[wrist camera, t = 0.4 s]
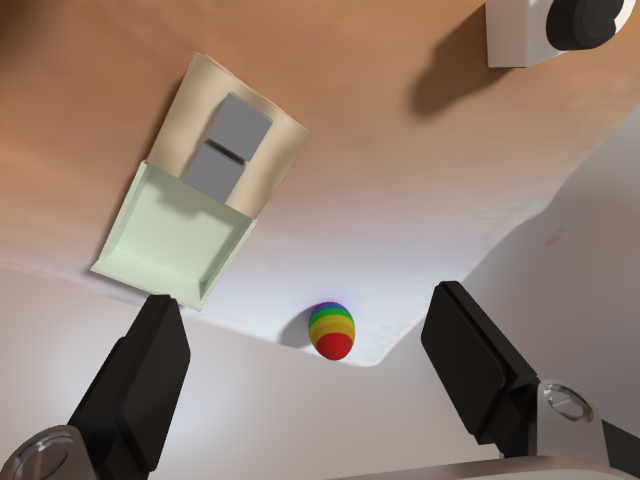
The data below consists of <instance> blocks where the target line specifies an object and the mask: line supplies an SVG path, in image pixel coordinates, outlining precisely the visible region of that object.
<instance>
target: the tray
mask: <svg viewBox="0 0 640 480" xmlns="http://www.w3.org/2000/svg"><path fill="white" fill-rule="evenodd" d="M147 159H148V158H147ZM147 159H145V160H144V161H142V162H141V164H140V167H139V169H138V171H137V173H136V176H135V178H134V180H133V182H132V185H131V187H130V189H129V191H128V194H127V196H126V198H125V200H124V203H123V205H122V207H121V209H120V212H119V214H118V216H117V218H116V221H115V223H114V225H113V227H112V230H111V232H110V234H109V236H108V239H107V241H106V243H105V245H104V248H103V250H102V252H101V254H100V257H99V259H98V261H97V262H96V263H95V264H94V265H93V266H92V267H91V271H94V272H97V273H99V274H102V275H105V276H107V277H110V278H112V279H115V280H118V281H120V282H123V283H126V284H128V285H131V286H133V287H136V288H139V289H141V290H144V291H147V292H149V293H152V294H155V295H160V294H169V295H170V296H171V298H175V299H176V300H177V303H178V304H181V305H183V306H186V307H189V308H191V309H194V310H197V311H199V312H200V311H201V310H202V307H203V304H204V302H205V300H206V299H207V297H208V296H209V294H210V293H211V291H212V290H213V288H214V287H215V285H216V284H217V282H218V281H219V279H220V278H221V276H222V275H223V273H224V272H225V270H226V269H227V267H228V266H229V264H230V263H231V261H232V260H233V258H234V257H235V255H236V254H237V252H238V251H239V249H240V248H241V246H242V245H243V243H244V242H245V240H246V239H247V237H248V236H249V234H250V233H251V231H252V230H253V228H254V227H255V225H256V223H257V218H256V220H254V219H252V218H250V217H248V216H246V215H245V214H243V213H241V212H239V211H237V210H235V209H234V208H232V207H230V206H228V205H226V204H222V203H220V202H218V201H216V200H214V199H213V198H211V197H209V196H207V195H205V194H203V193H201V192H200V191H198V190H196V189H194V188H192V187H190V186H188V185H187V184H185V183H183V181H182V180H180V179H178V178H176V177H175V176H173V175H171V174H169V173H167V172H165V171H163V170H162V169H160V168H158V167H156V166H154V165H152V164H151V163H149V162H147Z"/></svg>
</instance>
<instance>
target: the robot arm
mask: <svg viewBox="0 0 640 480" xmlns="http://www.w3.org/2000/svg"><path fill="white" fill-rule="evenodd" d="M421 342H422V345H423V347H424V349H425V351H426V352H427V355H428V357H429V359H430V360H431V362H432V364H433V366H434V368H435V370H436V372H437V374H438V376H439V378H440V380H441V382H442V384H443V385H444V387H445V389H446V391H447V393H448V395H449V397H450V399H451V401H452V403H453V404H454V407H455V408H456V410H457V412H458V414H459V416H460V418H461V420H462V422H463V424H464V426H465V427H466V429H467V431H468V432H469V433H470V434H471V435H474V437H475V439H476V441H477V443H478V444H479V445H484V444H492V443H495V444H496V446H497V448H498V449H499V451H500V452H499V459H494V460H483V461H473V462H465V463H458V464H448V465H440V466H432V467H423V468H415V469H407V470H399V471H391V472H383V473H375V474H367V475H359V476H351V477H343V478H335V479H327V480H640V438H638V437H636V436H634V435H632V434H630V433H628V432H626V431H624V430H622V429H620V428H618V427H616V426H614V425H612V424H610V423H608V422H606V421H604V420H602V419H601V417H600V414H599V411H598V409H597V408H596V407H595V405H594V404H593V402H592V401H591V400H590V399H589V398H587V397H586V396H585V395H584V394H583V393H582V392H580V391H579V390H577V389H576V388H574V387H573V386H571V385H569V384H567V383H564V382H561V381H557V380H551V379H548V380H543V381H542V382H540V380H539V379H538V378H537V377H536V375H537V373H536V372H535V371H534V370H533V369H532V367H531V366H530V365H529V364H528V363H527V362H526V360H525V359H524V358H523V357H522V356H521V354H520V353H519V352H518V351H517V350H516V349H515V348H514V346H513V345H512V344H511V343H510V342H509V340H508V339H507V338H506V337H505V336H504V334H503V333H502V332H501V331H500V330H499V329H498V327H497V326H496V325H495V324H494V323H493V322H492V320H491V319H490V318H489V317H488V316H487V314H486V313H485V312H484V311H483V310H482V309H481V308H480V306H479V305H478V304H477V303H476V302H475V300H474V299H473V298H472V297H471V296H470V294H469V293H468V292H467V291H466V290H465V289H464V288H463V286H462V285H461V284H460V283H459V282H458V281H442V282H440V283H439V285H437V286H436V287H435V289H434V292H433V296H432V299H431V303H430V306H429V310H428V313H427V317H426V320H425V323H424V327H423V330H422V334H421ZM190 355H191V354H190V349H189V345H188V341H187V337H186V333H185V330H184V326H183V322H182V318H181V315H180V311H179V307H178V303H177V300H176V299H175V298H171V296H170V295H169V294H160V295H150V296H149V297H148V298H147V300H146V302H145V303H144V305H143V307H142V308H141V310H140V312H139V314H138V315H137V317H136V319H135V320H134V322H133V324H132V326H131V328H130V329H129V331H128V332H127V334H126V336H125V337H121V338H120V339H119V340H118V341H117V342H116V344H115V345H114V347H113V348H112V350H111V352H110V353H109V355H108V357H107V358H106V360H105V362H104V364H103V365H102V367H101V368H100V370H99V372H98V373H97V375H96V377H95V378H94V380H93V382H92V383H91V385H90V387H89V388H88V390H87V392H86V393H85V395H84V397H83V398H82V400H81V402H80V403H79V405H78V407H77V408H76V410H75V411H74V413H73V415H72V416H71V418H70V420H69V421H68V423H67V425H58V426H55V427H51V428H48V429H46V430H43V431H42V432H39V433H37V434H36V435H34V436H33V437H31V438H30V439H28V440H27V441H26V442H24V443H23V444H22V445H21V446H20V447H19V448H18V449H17V450H15V452H13V453H12V455H11V456H10V457H9V459H8V460H7V461H6V463H5V464H4V466H3V468H2V470H1V472H0V480H147V479H148V475H149V473H150V472H152V471H155V469H156V468H157V465H158V463H159V459H160V456H161V453H162V450H163V446H164V443H165V440H166V437H167V433H168V430H169V427H170V424H171V420H172V417H173V414H174V411H175V408H176V405H177V401H178V398H179V395H180V391H181V388H182V385H183V382H184V379H185V376H186V372H187V369H188V366H189V363H190Z"/></svg>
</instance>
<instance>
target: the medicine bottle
mask: <svg viewBox="0 0 640 480" xmlns="http://www.w3.org/2000/svg"><path fill="white" fill-rule="evenodd" d="M635 1H636V0H489V1H487V2H486V4H485V12H486V33H487V53H488V67H489V68H528V67H531V66H533V65H536V64H538V63H541V62H543V61H546V60H548V59H551V58H553V57H556V56H558V55H561V54H563V53H566V52H568V51H571V50H586V49H593V48H596V47H598V46H600V45H602V44H604V43H605V42H607V41H608V40H609V39H611V38H612V37H613V36H614V35H615V34H616V33H617V32H618V31H619V30H620V29H621V27H622V26H623V25H624V23H625V22H626V21H627V19H628V17H629V16H630V14H631V12H632V9H633V7H634V4H635Z"/></svg>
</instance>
